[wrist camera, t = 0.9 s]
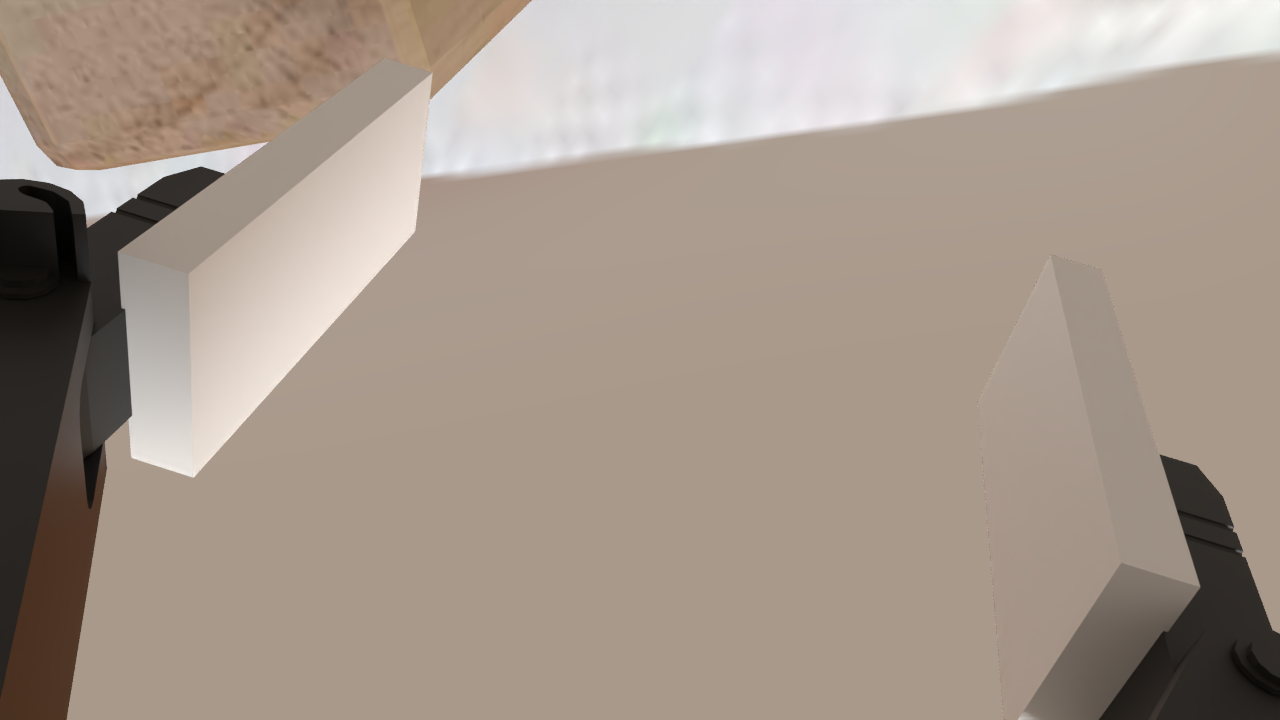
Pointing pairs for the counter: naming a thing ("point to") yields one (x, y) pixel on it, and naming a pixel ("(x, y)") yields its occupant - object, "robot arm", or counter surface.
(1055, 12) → the counter surface
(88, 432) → the robot arm
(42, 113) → the wooden block
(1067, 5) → the counter surface
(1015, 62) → the counter surface
